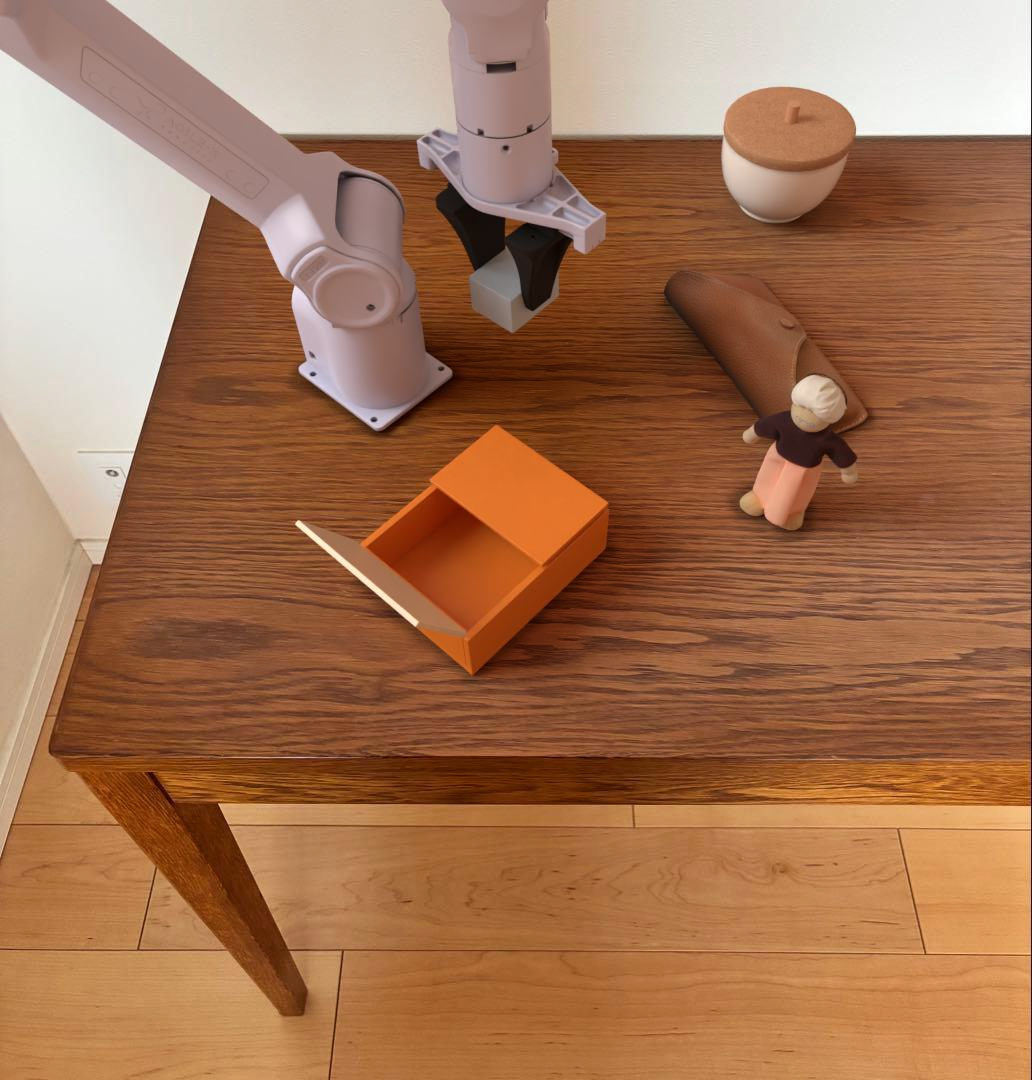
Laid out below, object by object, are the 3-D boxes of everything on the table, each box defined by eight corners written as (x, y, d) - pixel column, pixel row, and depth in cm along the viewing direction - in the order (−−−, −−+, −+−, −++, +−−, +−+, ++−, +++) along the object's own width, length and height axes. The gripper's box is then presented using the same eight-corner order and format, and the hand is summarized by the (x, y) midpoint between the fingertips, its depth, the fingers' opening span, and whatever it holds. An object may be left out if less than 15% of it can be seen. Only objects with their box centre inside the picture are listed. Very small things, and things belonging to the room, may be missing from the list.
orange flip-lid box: (472, 675, 62) (467, 635, 57) (365, 585, 66) (353, 540, 61) (606, 548, 67) (610, 502, 63) (499, 471, 71) (496, 423, 67)
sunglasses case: (879, 415, 72) (861, 374, 67) (799, 473, 74) (775, 438, 69) (749, 268, 82) (724, 222, 76) (681, 322, 84) (651, 281, 78)
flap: (468, 633, 57) (464, 638, 57) (355, 540, 61) (352, 544, 61) (419, 621, 52) (415, 627, 52) (298, 519, 56) (294, 524, 56)
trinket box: (713, 161, 91) (729, 63, 83) (831, 169, 90) (858, 70, 82) (710, 236, 85) (726, 138, 77) (836, 245, 84) (866, 146, 76)
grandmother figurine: (719, 517, 68) (752, 391, 58) (732, 476, 70) (765, 347, 60) (831, 548, 67) (885, 423, 56) (841, 505, 69) (895, 377, 58)
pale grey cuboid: (512, 334, 69) (510, 301, 66) (471, 309, 71) (467, 276, 68) (559, 296, 71) (558, 263, 68) (518, 272, 73) (516, 239, 70)
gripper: (641, 123, 57) (630, 302, 68) (462, 41, 63) (479, 218, 74) (562, 182, 54) (564, 359, 65) (382, 91, 60) (412, 267, 71)
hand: (514, 288), depth 70 cm, fingers closed on pale grey cuboid, 4 cm apart
